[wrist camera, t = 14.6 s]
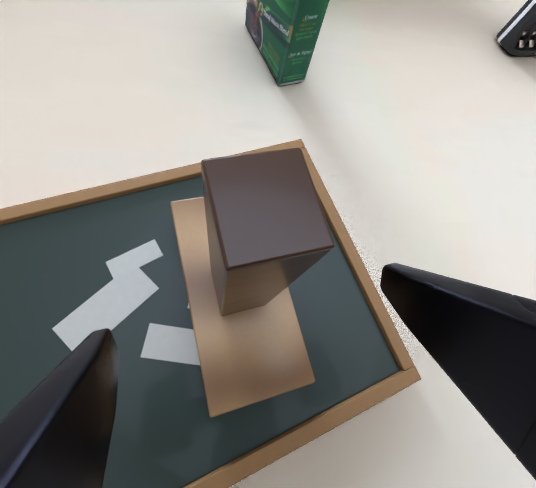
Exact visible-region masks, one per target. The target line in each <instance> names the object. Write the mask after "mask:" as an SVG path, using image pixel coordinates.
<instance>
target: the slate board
mask: <svg viewBox="0 0 536 488" xmlns="http://www.w3.org/2000/svg"><path fill="white" fill-rule="evenodd" d="M290 148H301V150H302V152H303V155H304V158H305V161H306V164H307V167H308V169H309V172H310V175H311V178H312V181H313V184H314V186H315V189H316V192H317V195H318V198H319V201H320V204H321V206H322V209H323V212H324V215H325V218H326V221H327V223H328V226H329V229H330V232H331V235H332V238H333V240H334V243H335V247H334V248H333V249H332V250H331V251H330V252H328V253H327V254H326V255H325V256H324V257H322V258H321V259H320V260H319V261H318V262H316V263H315V264H314V265H313V266H312V267H310V268H309V269H308V270H307V271H306V272H304V273H303V274H302V275H301V276H300V277H299V278H297V279H296V280H295V281H294V282H293V283H291V284H290V285H289V286H288V288H289V292H290V295H291V299H292V302H293V305H294V309H295V312H296V316H297V319H298V323H299V326H300V330H301V333H302V337H303V340H304V344H305V347H306V350H307V354H308V357H309V361H310V364H311V368H312V371H313V375H314V378H315V382H314V383H312V384H309V385H306V386H303V387H300V388H297V389H295V390H292V391H289V392H286V393H283V394H280V395H277V396H274V397H271V398H268V399H265V400H262V401H259V402H256V403H253V404H250V405H247V406H244V407H242V408H239V409H236V410H233V411H230V412H227V413H224V414H221V415H218V416H215V417H210V416H209V410H208V405H207V399H206V394H205V389H204V383H203V378H202V372H201V367H200V361H199V356H198V351H197V345H196V340H195V334H194V329H193V323H192V318H191V312H190V307H189V302H188V296H187V291H186V285H185V280H184V274H183V269H182V264H181V258H180V253H179V247H178V242H177V236H176V231H175V226H174V220H173V215H172V209H171V204H170V203H171V202H172V201H179V200H185V199H191V198H198V197H204V193H203V183H202V173H201V162H200V163H196V164H192V165H188V166H183V167H179V168H175V169H170V170H166V171H162V172H157V173H153V174H149V175H144V176H140V177H136V178H132V179H127V180H123V181H119V182H114V183H110V184H106V185H101V186H97V187H93V188H89V189H84V190H80V191H76V192H71V193H67V194H63V195H58V196H54V197H50V198H46V199H41V200H37V201H33V202H28V203H24V204H20V205H15V206H11V207H7V208H3V209H0V421H1V420H2V419H3V418H4V417H5V416H6V415H7V414H8V413H9V412H10V411H11V410H12V409H13V408H14V407H15V406H16V405H17V404H18V403H19V402H20V401H21V400H23V399H24V398H25V397H26V396H27V395H28V394H29V393H30V392H31V391H32V390H33V389H34V388H35V387H36V386H37V385H38V384H39V383H40V382H41V381H42V380H43V379H44V378H45V377H46V376H47V375H48V374H49V373H50V372H51V371H52V370H53V369H54V368H55V367H56V366H57V365H58V364H60V363H61V362H62V361H63V360H64V359H65V358H66V357H67V356H68V355H69V354H70V353H71V352H72V351H73V350H74V349H75V348H76V347H77V346H78V345H79V344H80V343H81V342H82V341H83V340H84V339H85V338H86V337H87V336H88V335H89V334H90V333H92V332H93V331H96V330H101V329H105V328H108V329H110V330H111V332H112V334H113V337H114V339H115V342H116V344H117V347H118V350H119V372H118V389H117V404H116V413H115V419H114V425H113V430H112V436H111V442H110V447H109V453H108V458H107V464H106V469H105V475H104V481H103V486H102V488H228V487H230V486H231V485H233V484H235V483H237V482H238V481H240V480H242V479H244V478H246V477H247V476H249V475H251V474H253V473H254V472H256V471H258V470H260V469H262V468H263V467H265V466H267V465H269V464H271V463H272V462H274V461H276V460H278V459H279V458H281V457H283V456H285V455H287V454H288V453H290V452H292V451H294V450H296V449H297V448H299V447H301V446H303V445H304V444H306V443H308V442H310V441H312V440H313V439H315V438H317V437H319V436H321V435H322V434H324V433H326V432H328V431H329V430H331V429H333V428H335V427H337V426H338V425H340V424H342V423H344V422H345V421H347V420H349V419H351V418H353V417H354V416H356V415H358V414H360V413H362V412H363V411H365V410H367V409H369V408H370V407H372V406H374V405H376V404H378V403H379V402H381V401H383V400H385V399H387V398H388V397H390V396H392V395H394V394H395V393H397V392H399V391H401V390H403V389H404V388H406V387H408V386H410V385H411V384H413V383H415V382H417V381H419V380H420V379H421V377H420V375H419V373H418V371H417V369H416V367H415V366H414V364H413V362H412V360H411V358H410V356H409V354H408V352H407V350H406V348H405V346H404V344H403V342H402V340H401V338H400V336H399V334H398V332H397V330H396V328H395V326H394V324H393V322H392V320H391V318H390V316H389V314H388V312H387V310H386V308H385V306H384V304H383V302H382V300H381V298H380V296H379V294H378V292H377V290H376V288H375V286H374V284H373V282H372V280H371V278H370V276H369V274H368V272H367V270H366V268H365V266H364V264H363V262H362V260H361V258H360V256H359V254H358V252H357V250H356V248H355V246H354V244H353V242H352V240H351V238H350V236H349V234H348V232H347V230H346V228H345V226H344V224H343V222H342V220H341V218H340V216H339V214H338V212H337V210H336V208H335V206H334V204H333V202H332V200H331V198H330V196H329V194H328V192H327V190H326V188H325V186H324V184H323V182H322V180H321V178H320V176H319V174H318V172H317V170H316V168H315V166H314V164H313V162H312V160H311V158H310V156H309V154H308V152H307V150H306V148H305V146H304V144H303V142H302V140H301V139H299V140H295V141H291V142H286V143H282V144H278V145H274V146H269V147H265V148H261V149H256V150H252V151H248V152H243V153H239V154H235V155H242V154H250V153H258V152H266V151H274V150H282V149H290ZM231 156H234V155H231Z"/></svg>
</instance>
